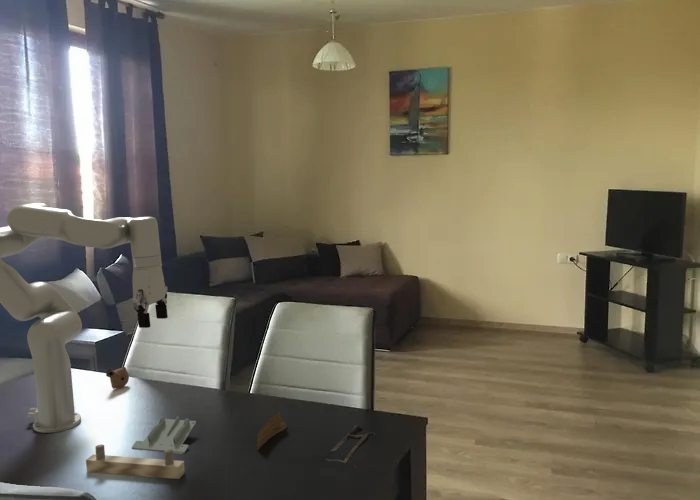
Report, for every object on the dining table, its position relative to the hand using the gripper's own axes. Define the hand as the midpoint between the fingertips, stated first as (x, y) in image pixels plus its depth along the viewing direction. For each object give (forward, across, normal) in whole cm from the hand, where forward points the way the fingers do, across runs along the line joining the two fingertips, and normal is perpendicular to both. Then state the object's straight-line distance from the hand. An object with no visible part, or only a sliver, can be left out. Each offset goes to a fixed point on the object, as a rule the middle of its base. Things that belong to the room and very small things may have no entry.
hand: (153, 322), depth 177 cm
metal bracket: (+31, +9, +6) cm, 33 cm away
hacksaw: (+33, +5, +56) cm, 65 cm away
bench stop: (+30, +27, +6) cm, 41 cm away
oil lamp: (+29, -25, -30) cm, 48 cm away
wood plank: (+32, +3, +33) cm, 46 cm away
